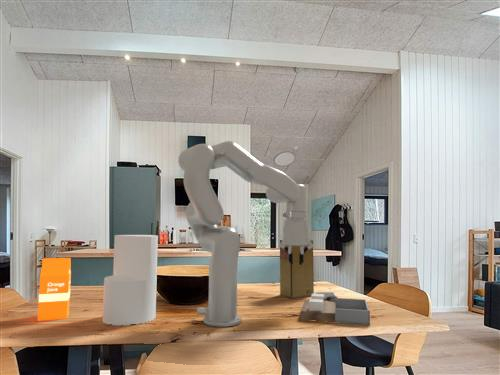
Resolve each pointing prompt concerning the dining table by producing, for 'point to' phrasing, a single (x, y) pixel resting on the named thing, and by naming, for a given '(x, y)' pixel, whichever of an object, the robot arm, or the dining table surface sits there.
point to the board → (319, 312)
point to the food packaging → (296, 273)
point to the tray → (352, 311)
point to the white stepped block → (131, 281)
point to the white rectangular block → (315, 305)
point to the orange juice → (54, 289)
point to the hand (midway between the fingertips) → (296, 264)
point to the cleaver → (328, 296)
